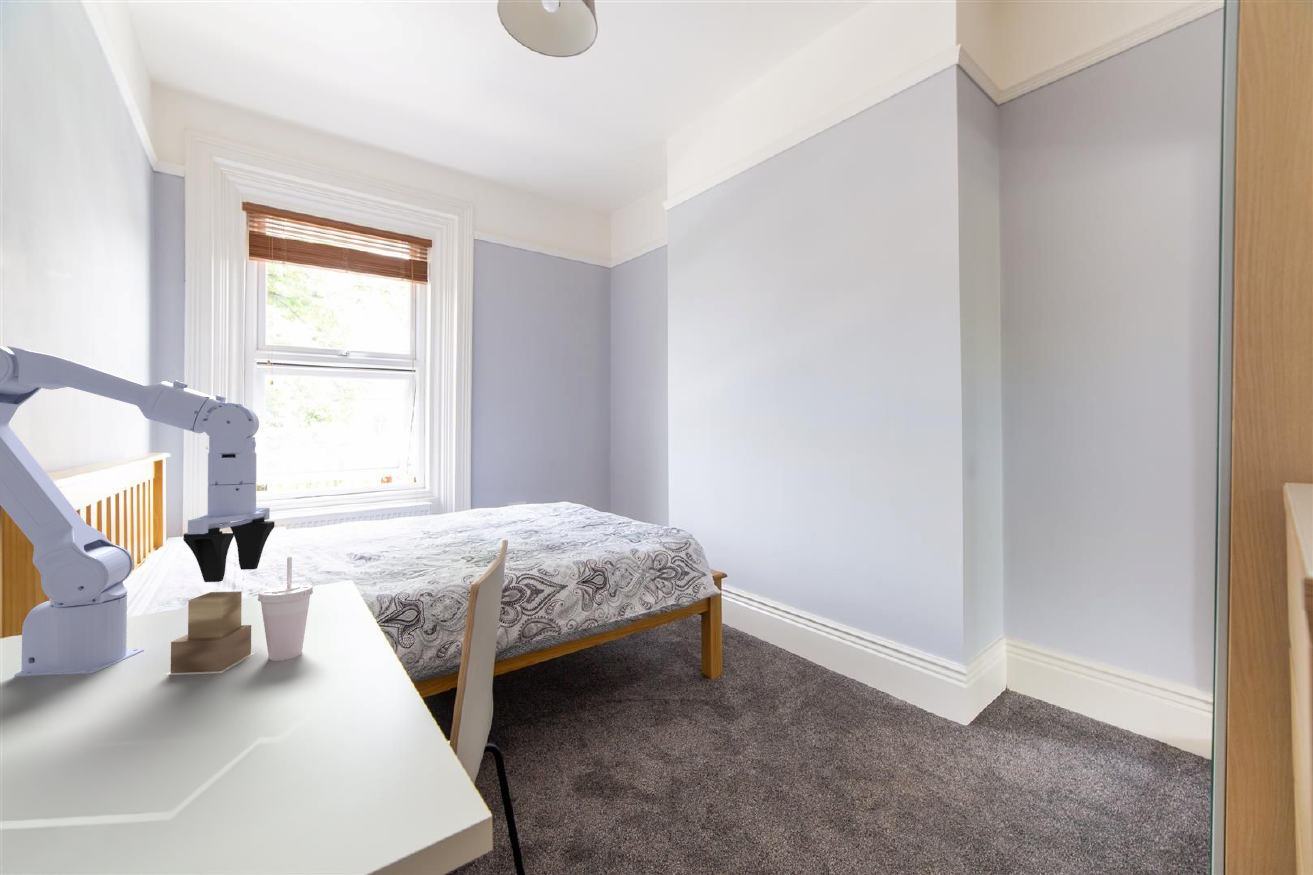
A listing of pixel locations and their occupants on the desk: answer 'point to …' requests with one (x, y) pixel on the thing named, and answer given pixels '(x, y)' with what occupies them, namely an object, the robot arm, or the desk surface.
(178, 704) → the desk surface
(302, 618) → the smoothie
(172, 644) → the walnut block
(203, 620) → the oak block
